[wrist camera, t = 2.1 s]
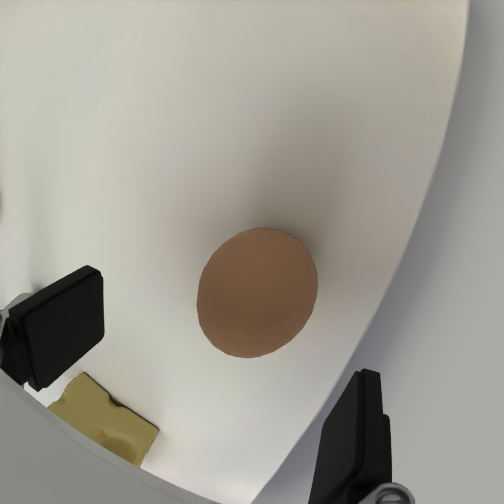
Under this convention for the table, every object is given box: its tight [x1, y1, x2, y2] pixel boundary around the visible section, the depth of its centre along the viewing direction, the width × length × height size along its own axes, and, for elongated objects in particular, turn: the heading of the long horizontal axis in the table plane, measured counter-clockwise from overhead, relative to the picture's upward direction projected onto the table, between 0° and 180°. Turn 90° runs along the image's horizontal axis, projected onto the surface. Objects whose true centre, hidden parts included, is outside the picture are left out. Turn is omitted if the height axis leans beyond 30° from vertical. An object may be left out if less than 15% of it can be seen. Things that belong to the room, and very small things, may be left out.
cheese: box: [47, 373, 159, 468], centre depth 25 cm, size 10×11×10 cm
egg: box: [197, 228, 318, 358], centre depth 14 cm, size 5×5×8 cm
